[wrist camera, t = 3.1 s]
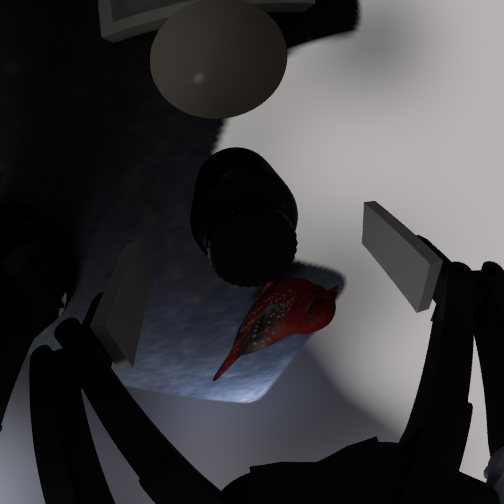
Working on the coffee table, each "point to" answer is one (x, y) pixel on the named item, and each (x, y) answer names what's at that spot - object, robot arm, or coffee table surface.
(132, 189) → the coffee table surface
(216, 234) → the supplement bottle
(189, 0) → the sage tray
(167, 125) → the coffee table surface
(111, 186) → the coffee table surface
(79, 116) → the coffee table surface
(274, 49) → the cream canister
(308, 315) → the decorative bird figurine
